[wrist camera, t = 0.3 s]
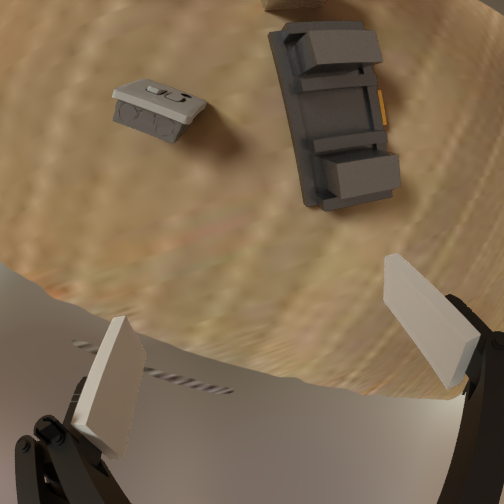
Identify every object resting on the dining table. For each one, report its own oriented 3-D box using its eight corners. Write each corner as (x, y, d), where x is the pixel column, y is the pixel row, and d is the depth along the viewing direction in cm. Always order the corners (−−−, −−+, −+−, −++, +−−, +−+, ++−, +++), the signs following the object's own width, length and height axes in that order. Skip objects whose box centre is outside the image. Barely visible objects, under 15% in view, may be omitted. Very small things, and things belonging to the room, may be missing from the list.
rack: (267, 35, 30) (279, 13, 22) (360, 30, 30) (391, 14, 22) (303, 203, 40) (323, 224, 32) (388, 186, 40) (421, 202, 32)
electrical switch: (209, 102, 33) (199, 102, 25) (192, 137, 35) (178, 149, 27) (145, 78, 31) (118, 73, 23) (130, 113, 33) (100, 119, 25)
